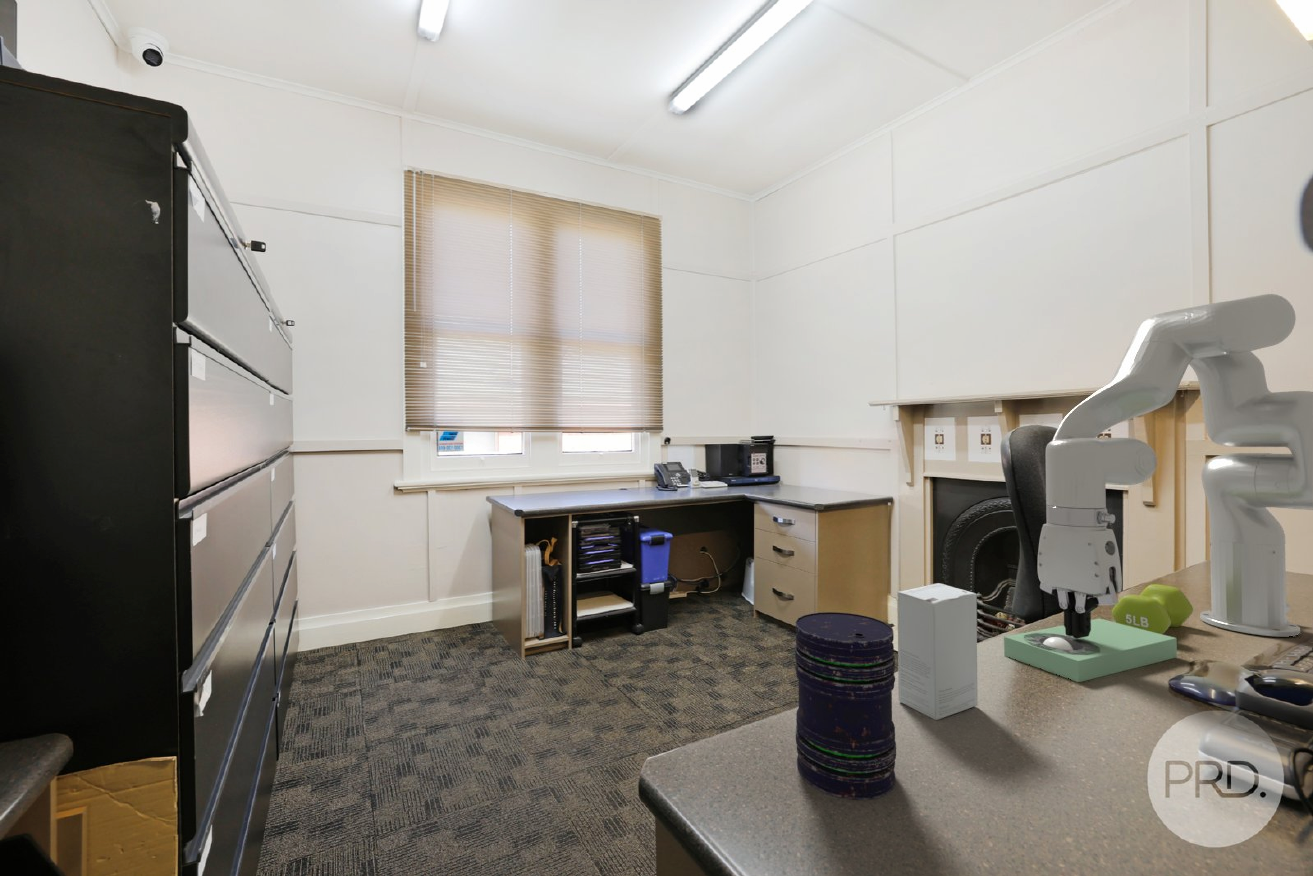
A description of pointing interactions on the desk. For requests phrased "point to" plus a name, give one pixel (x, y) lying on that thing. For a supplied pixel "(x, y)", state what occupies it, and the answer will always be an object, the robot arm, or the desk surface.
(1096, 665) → the putting mat
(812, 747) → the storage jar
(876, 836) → the desk surface
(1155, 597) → the dumbbell
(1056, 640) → the white egg
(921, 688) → the skincare box
